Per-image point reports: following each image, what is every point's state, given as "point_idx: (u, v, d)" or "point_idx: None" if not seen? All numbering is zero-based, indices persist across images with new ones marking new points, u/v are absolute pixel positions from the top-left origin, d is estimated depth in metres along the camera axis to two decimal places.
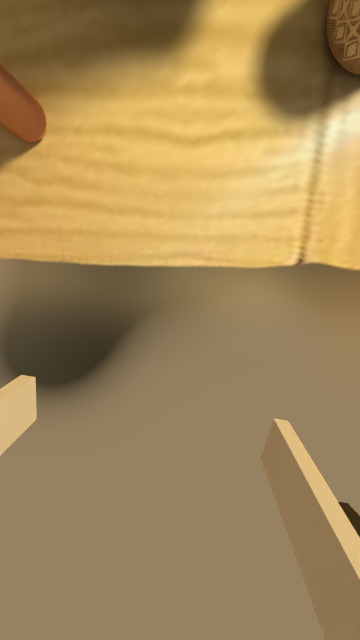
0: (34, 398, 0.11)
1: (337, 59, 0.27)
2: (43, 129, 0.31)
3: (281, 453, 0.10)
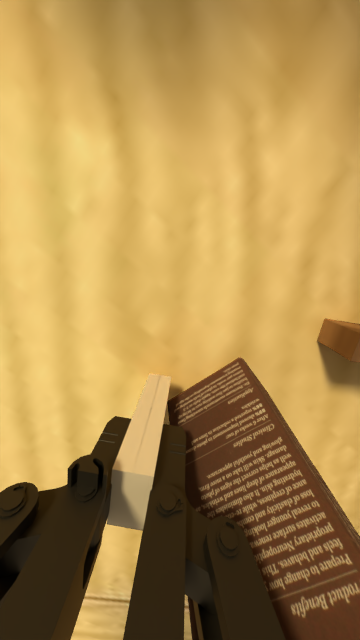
0: None
1: None
2: None
3: None
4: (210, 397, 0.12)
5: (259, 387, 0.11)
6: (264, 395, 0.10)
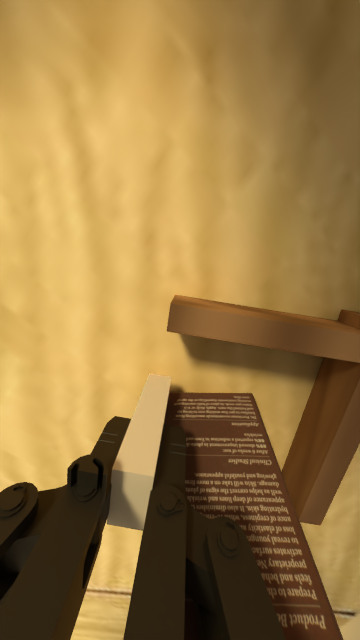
0: None
1: None
2: None
3: None
4: (215, 411, 0.13)
5: None
6: (267, 434, 0.11)
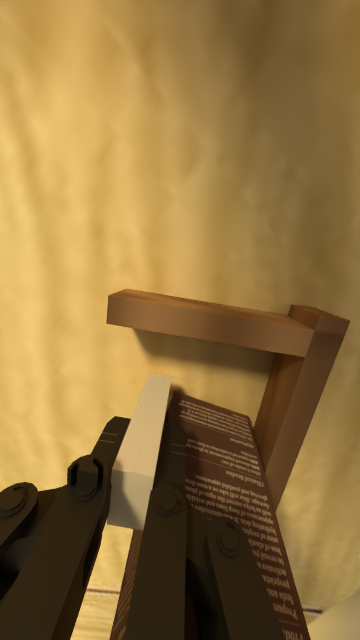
0: None
1: None
2: None
3: None
4: (215, 422, 0.13)
5: (257, 450, 0.13)
6: None
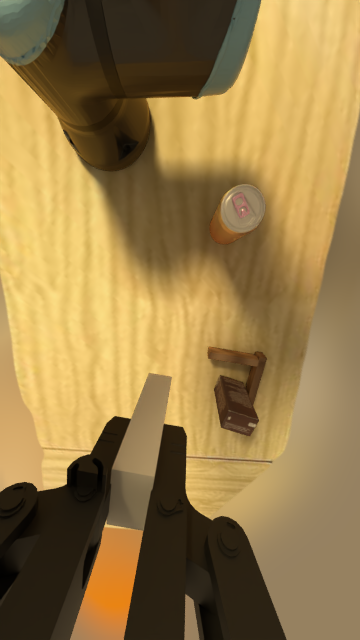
0: None
1: None
2: None
3: None
4: (234, 382, 0.47)
5: (245, 389, 0.47)
6: None
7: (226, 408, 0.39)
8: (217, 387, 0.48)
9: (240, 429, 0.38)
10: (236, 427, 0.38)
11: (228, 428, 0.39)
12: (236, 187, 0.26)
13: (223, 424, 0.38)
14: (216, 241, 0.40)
